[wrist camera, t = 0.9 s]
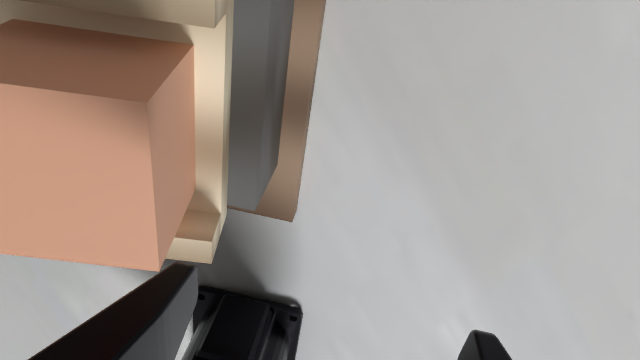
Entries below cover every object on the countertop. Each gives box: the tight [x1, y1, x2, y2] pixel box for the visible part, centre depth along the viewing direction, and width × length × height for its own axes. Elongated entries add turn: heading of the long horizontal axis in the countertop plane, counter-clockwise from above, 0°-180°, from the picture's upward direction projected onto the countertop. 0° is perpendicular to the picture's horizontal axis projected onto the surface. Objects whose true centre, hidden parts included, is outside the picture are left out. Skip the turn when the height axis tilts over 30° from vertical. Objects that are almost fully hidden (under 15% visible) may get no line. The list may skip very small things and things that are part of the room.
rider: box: [0, 19, 196, 272], centre depth 13 cm, size 5×5×4 cm
